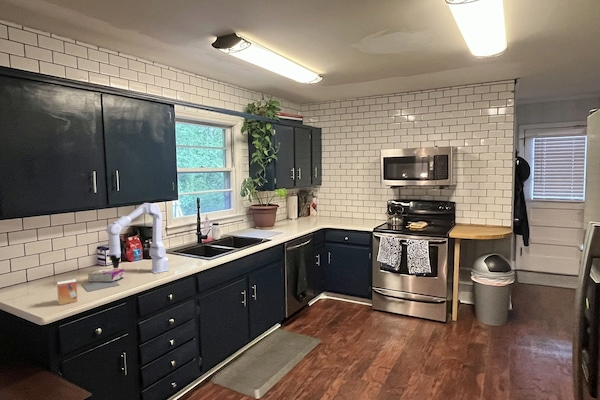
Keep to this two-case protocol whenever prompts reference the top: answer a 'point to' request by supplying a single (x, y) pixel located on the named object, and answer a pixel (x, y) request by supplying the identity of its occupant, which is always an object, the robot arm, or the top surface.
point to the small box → (67, 292)
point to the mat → (99, 285)
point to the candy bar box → (106, 275)
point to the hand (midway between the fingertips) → (115, 267)
